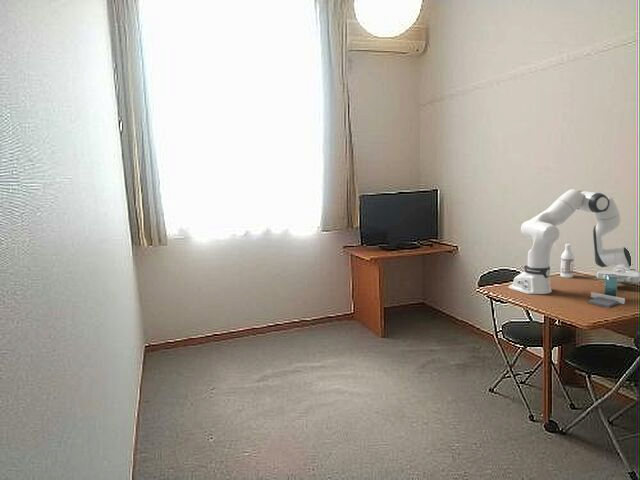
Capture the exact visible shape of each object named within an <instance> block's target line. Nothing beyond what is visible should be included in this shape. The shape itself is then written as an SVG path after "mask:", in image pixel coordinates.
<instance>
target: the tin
mask: <svg viewBox="0 0 640 480" xmlns="http://www.w3.org/2000/svg"><path fill="white" fill-rule="evenodd" d="M617 278H618V275H616V274H605V281H604V295H609V296H615V297H617V294H618V293H617V291H618V282H617Z"/></svg>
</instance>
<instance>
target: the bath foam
mask: <svg viewBox="0 0 640 480" xmlns="http://www.w3.org/2000/svg"><path fill="white" fill-rule="evenodd" d="M571 245H572V244H571V243H566V244H565V247H564V251H563V252H562V253H561V255H560V277H561V278H565V279H566V278H567V279H569V278H573V277H574V266H575V265H574V263H575V260H574V259H575V256H574V253H573V252H572V249H571Z"/></svg>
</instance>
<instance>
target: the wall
mask: <svg viewBox="0 0 640 480" xmlns="http://www.w3.org/2000/svg"><path fill="white" fill-rule="evenodd" d="M596 297H600V298H606V299H611V300H616V301H618V304H623V305H625V304H626V297H625V298H624V297H619V296H616V297H615V296H609V295H604V294H603V293H599V292H594V291H591V292H590V298H591V299H594V298H596Z"/></svg>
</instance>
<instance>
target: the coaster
mask: <svg viewBox="0 0 640 480" xmlns="http://www.w3.org/2000/svg"><path fill="white" fill-rule="evenodd" d="M587 304H590V305H595V306H598V307H599V306H600V307H604V308H612V307H614V306H615V305H618V304H619V303H618V301H616V300H611V299H606V298H600V297H596V298H591V299H590V300H587Z"/></svg>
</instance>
